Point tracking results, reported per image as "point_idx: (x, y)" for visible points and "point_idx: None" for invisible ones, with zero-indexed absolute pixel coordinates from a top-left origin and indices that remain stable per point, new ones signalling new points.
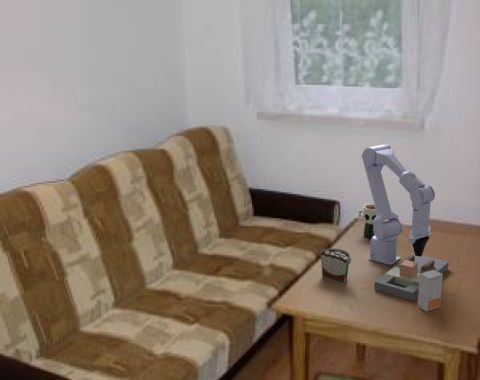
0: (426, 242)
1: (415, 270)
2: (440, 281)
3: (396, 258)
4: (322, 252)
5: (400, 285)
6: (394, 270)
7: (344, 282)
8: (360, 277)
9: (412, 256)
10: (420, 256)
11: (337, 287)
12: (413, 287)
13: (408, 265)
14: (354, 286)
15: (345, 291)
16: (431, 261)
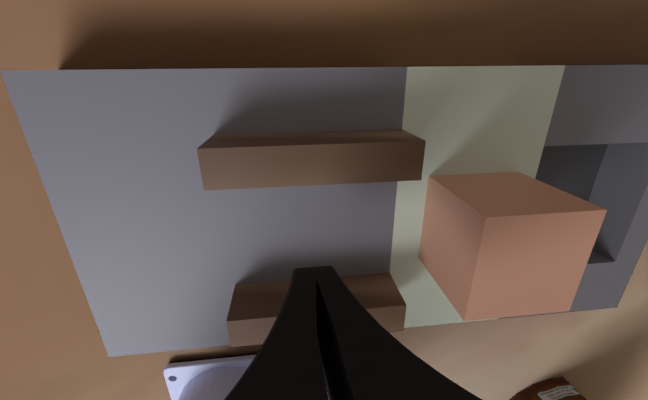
0: (252, 396)
1: (490, 190)
2: None
3: (195, 374)
4: None
5: None
6: (435, 306)
7: (568, 383)
8: (477, 370)
9: (257, 324)
10: (328, 266)
11: (597, 377)
12: (642, 101)
13: (575, 252)
14: (569, 345)
15: (623, 344)
16: (243, 162)
